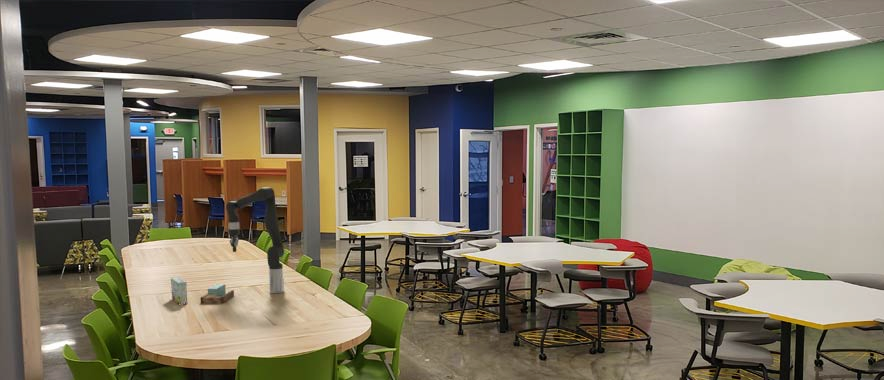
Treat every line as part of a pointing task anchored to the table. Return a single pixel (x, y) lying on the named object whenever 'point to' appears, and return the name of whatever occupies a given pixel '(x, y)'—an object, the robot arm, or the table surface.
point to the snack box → (179, 290)
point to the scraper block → (217, 290)
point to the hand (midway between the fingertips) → (234, 251)
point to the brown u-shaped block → (217, 298)
